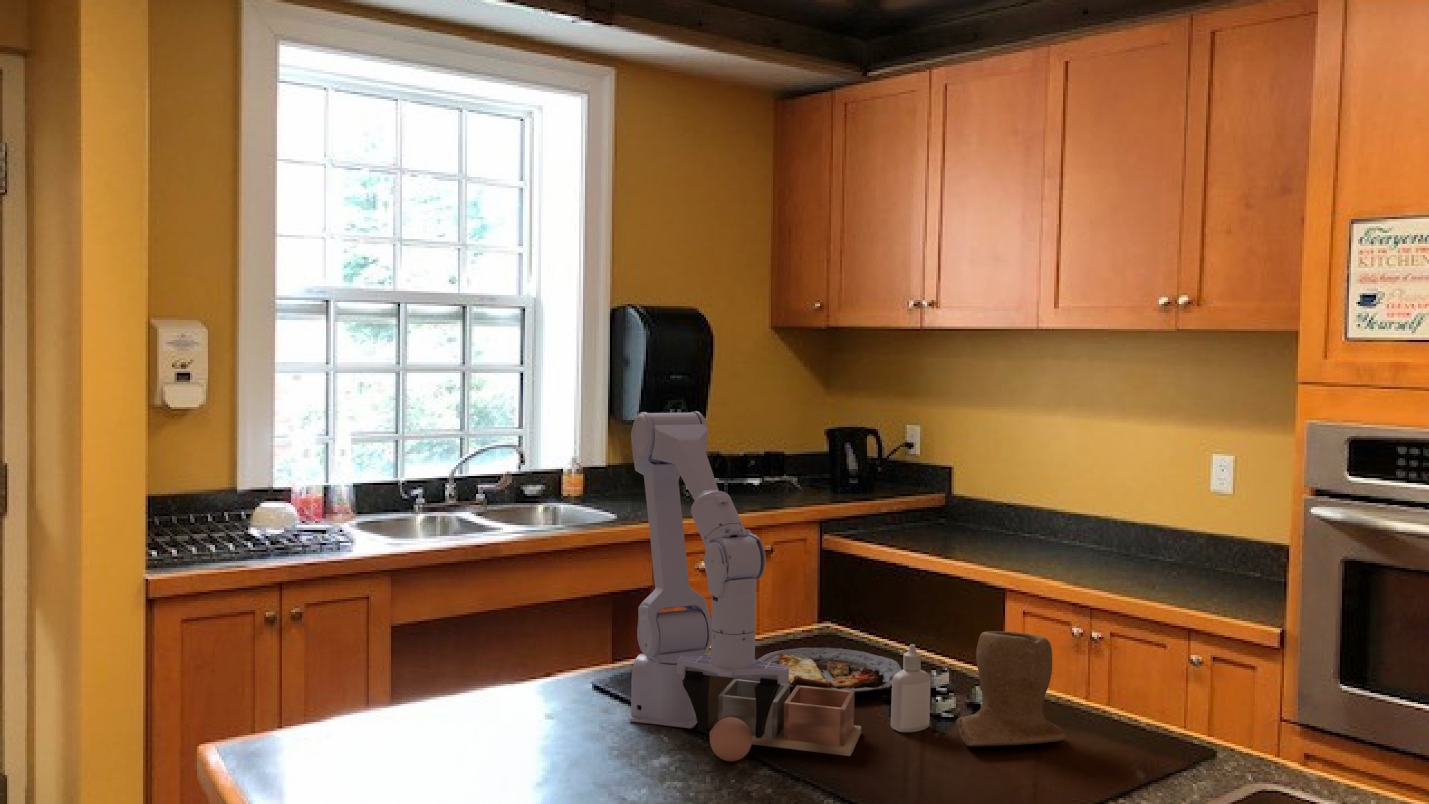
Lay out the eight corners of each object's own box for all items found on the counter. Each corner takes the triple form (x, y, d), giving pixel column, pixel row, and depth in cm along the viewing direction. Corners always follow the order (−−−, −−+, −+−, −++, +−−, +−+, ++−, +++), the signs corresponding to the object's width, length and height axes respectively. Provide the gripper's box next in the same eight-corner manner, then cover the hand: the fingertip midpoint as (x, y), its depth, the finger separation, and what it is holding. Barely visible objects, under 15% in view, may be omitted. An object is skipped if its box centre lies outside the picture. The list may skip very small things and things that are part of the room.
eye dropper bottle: (932, 734, 161) (935, 649, 160) (892, 733, 161) (894, 648, 160) (927, 723, 165) (929, 641, 165) (888, 722, 165) (890, 640, 165)
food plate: (914, 705, 173) (914, 682, 173) (759, 703, 173) (759, 680, 173) (891, 662, 198) (891, 642, 198) (755, 660, 198) (755, 640, 198)
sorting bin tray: (709, 739, 157) (710, 696, 157) (727, 717, 166) (728, 676, 166) (850, 756, 152) (851, 711, 151) (861, 733, 161) (862, 691, 160)
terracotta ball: (704, 764, 148) (705, 722, 147) (716, 750, 153) (716, 709, 153) (745, 770, 146) (746, 727, 146) (756, 755, 152) (756, 714, 151)
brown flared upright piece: (1034, 722, 167) (1037, 620, 166) (1076, 751, 155) (1080, 642, 154) (936, 727, 164) (939, 623, 163) (971, 757, 152) (975, 646, 151)
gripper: (670, 631, 147) (668, 736, 148) (781, 641, 143) (779, 749, 144) (686, 618, 154) (685, 718, 154) (793, 628, 150) (790, 730, 150)
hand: (731, 732), depth 149 cm, fingers open, 7 cm apart
